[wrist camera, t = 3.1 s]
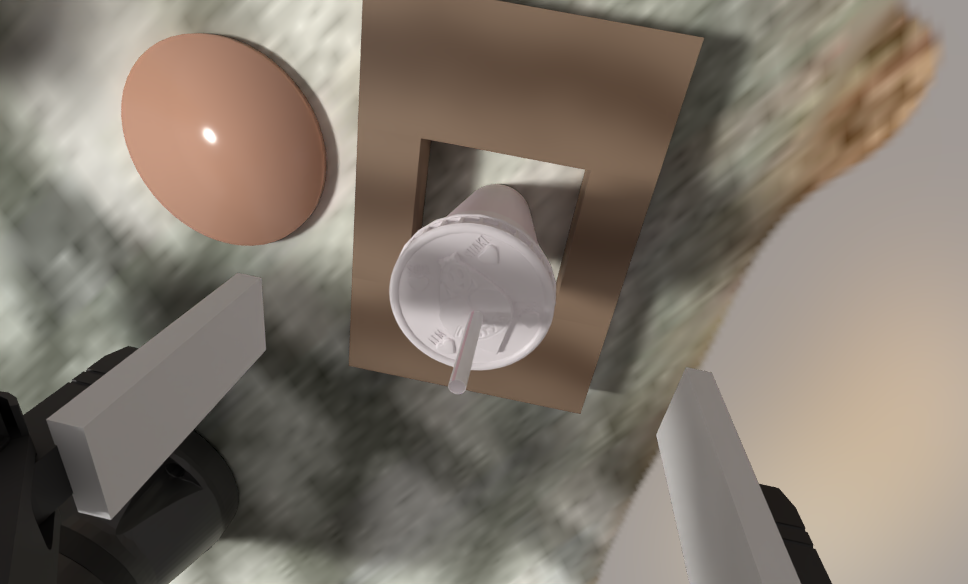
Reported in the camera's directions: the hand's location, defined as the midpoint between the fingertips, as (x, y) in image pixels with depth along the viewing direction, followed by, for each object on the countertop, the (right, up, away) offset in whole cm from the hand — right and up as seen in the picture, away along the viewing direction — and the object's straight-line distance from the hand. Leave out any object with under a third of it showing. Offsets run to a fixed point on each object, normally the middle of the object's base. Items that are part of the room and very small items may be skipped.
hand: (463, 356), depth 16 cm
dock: (+1, +6, +12) cm, 13 cm away
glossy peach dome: (-13, +10, +12) cm, 20 cm away
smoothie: (+1, +6, +12) cm, 14 cm away
